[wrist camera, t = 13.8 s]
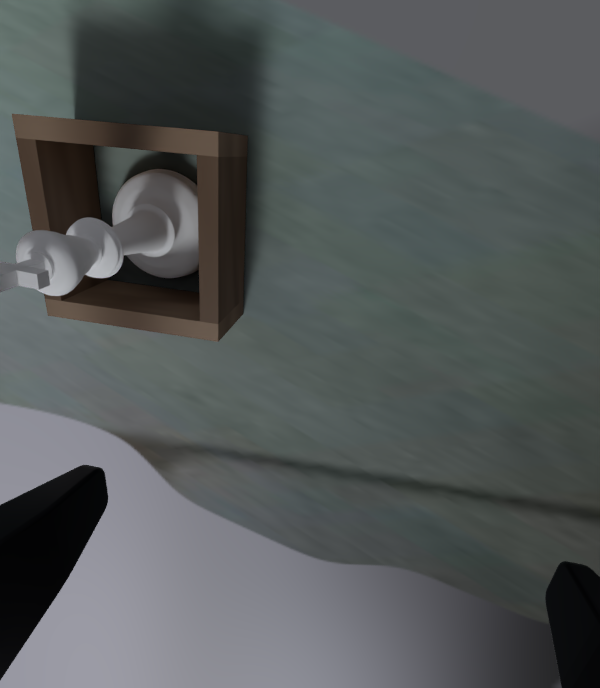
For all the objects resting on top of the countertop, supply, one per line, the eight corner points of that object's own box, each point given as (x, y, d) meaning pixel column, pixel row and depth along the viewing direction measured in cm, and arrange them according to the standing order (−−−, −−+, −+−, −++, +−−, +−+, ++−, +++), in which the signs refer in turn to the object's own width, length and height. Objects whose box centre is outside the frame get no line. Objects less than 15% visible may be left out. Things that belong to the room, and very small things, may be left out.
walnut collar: (247, 135, 18) (218, 131, 15) (243, 314, 21) (218, 341, 18) (73, 120, 19) (11, 113, 16) (95, 292, 22) (48, 315, 19)
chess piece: (115, 161, 19) (-120, 167, 10) (219, 177, 19) (67, 198, 10) (121, 267, 21) (-70, 348, 12) (214, 284, 21) (86, 382, 12)
